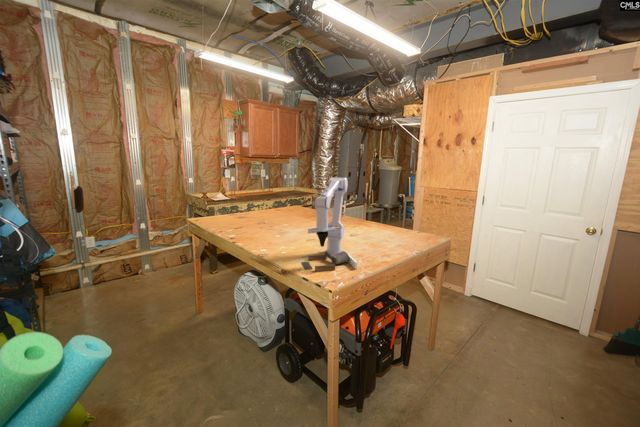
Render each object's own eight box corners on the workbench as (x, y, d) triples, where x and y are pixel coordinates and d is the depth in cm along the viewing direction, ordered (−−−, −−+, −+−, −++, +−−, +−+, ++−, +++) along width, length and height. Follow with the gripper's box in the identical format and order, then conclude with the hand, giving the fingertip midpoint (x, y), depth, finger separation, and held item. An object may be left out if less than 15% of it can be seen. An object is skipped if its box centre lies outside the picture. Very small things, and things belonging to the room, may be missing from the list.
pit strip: (301, 262, 149) (301, 262, 148) (308, 262, 149) (308, 261, 149) (305, 269, 139) (305, 269, 139) (312, 269, 140) (312, 268, 140)
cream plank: (342, 256, 159) (342, 250, 158) (344, 256, 159) (344, 250, 159) (355, 269, 140) (355, 262, 139) (357, 269, 140) (357, 262, 140)
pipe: (323, 258, 153) (334, 254, 158) (337, 268, 143) (349, 264, 148) (323, 248, 151) (335, 244, 155) (338, 258, 141) (350, 254, 146)
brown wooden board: (308, 259, 153) (308, 255, 152) (326, 258, 155) (326, 254, 155) (315, 271, 137) (315, 266, 136) (335, 269, 139) (335, 265, 139)
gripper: (309, 222, 137) (309, 249, 139) (338, 221, 140) (337, 247, 143) (307, 219, 143) (307, 245, 146) (334, 218, 147) (333, 243, 149)
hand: (322, 245), depth 145 cm, fingers closed
